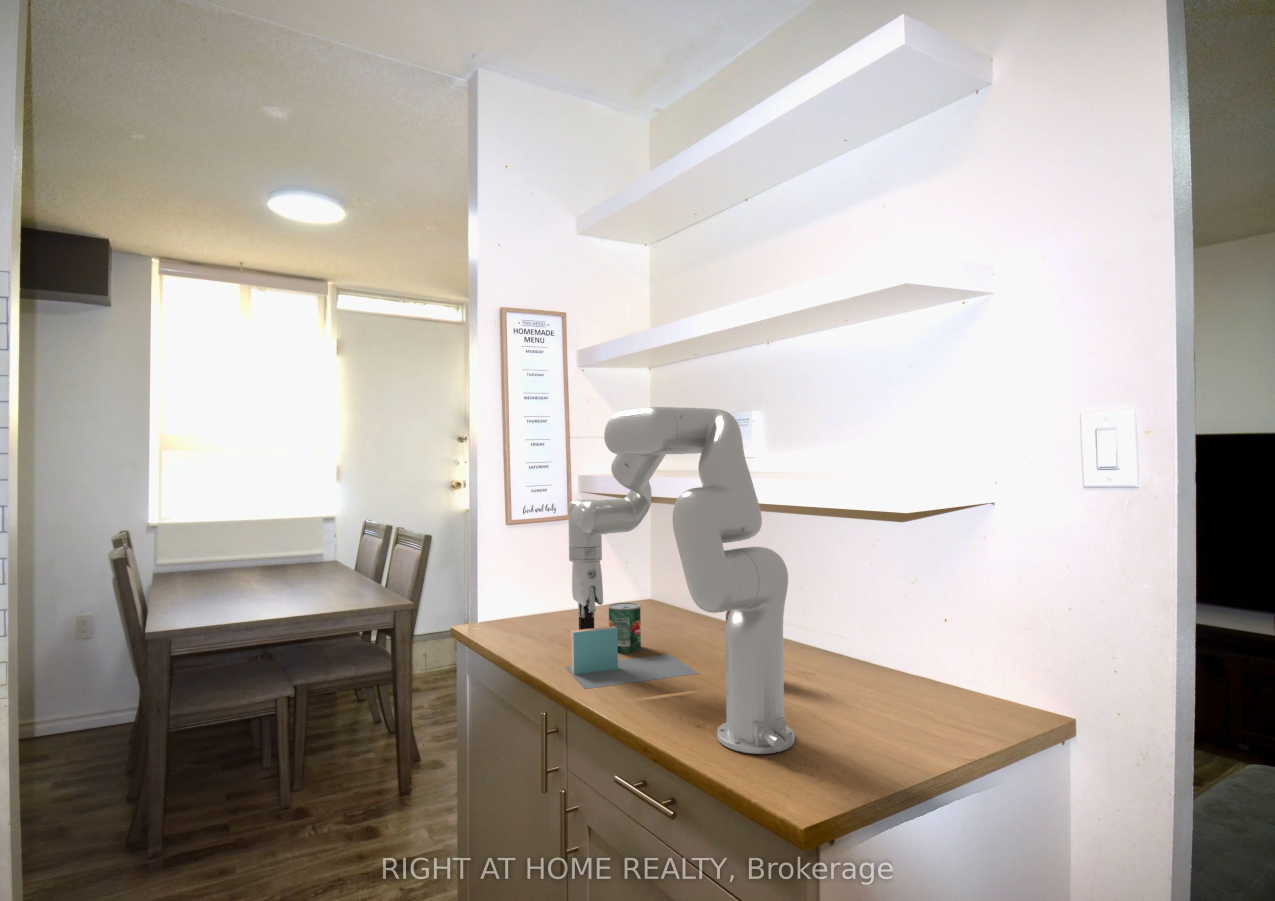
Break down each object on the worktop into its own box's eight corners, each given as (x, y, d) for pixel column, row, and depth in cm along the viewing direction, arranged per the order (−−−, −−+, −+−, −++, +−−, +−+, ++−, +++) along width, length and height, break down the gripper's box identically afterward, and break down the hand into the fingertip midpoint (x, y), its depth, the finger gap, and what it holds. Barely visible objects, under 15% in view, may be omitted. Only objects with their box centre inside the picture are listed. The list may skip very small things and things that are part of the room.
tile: (617, 668, 151) (617, 627, 151) (574, 674, 148) (573, 632, 148) (615, 666, 153) (614, 625, 153) (571, 671, 150) (571, 630, 150)
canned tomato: (605, 647, 170) (604, 603, 171) (635, 644, 173) (634, 601, 173) (614, 656, 163) (613, 610, 163) (645, 653, 165) (644, 607, 165)
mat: (699, 675, 147) (698, 673, 147) (584, 691, 138) (584, 688, 138) (669, 656, 162) (669, 654, 162) (564, 669, 153) (564, 666, 153)
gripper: (611, 556, 151) (612, 640, 151) (591, 548, 165) (592, 625, 165) (578, 558, 148) (579, 643, 148) (561, 550, 162) (562, 628, 162)
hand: (586, 633), depth 156 cm, fingers closed
